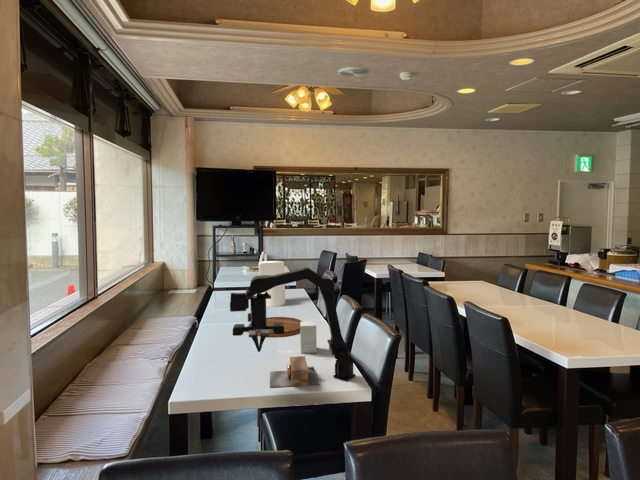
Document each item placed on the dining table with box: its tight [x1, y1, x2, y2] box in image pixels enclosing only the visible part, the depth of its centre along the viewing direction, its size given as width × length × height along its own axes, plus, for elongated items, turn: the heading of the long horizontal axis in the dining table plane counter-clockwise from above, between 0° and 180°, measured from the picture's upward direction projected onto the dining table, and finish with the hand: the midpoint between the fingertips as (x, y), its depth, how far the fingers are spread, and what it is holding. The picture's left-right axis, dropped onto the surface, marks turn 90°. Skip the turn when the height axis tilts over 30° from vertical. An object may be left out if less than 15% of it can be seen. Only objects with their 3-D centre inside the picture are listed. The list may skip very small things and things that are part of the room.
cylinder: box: [258, 260, 286, 308], centre depth 281 cm, size 17×17×28 cm
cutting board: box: [247, 316, 304, 338], centre depth 227 cm, size 32×32×2 cm
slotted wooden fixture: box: [269, 355, 320, 389], centre depth 161 cm, size 18×14×6 cm
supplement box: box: [299, 321, 318, 354], centre depth 192 cm, size 7×7×13 cm
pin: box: [286, 364, 315, 378], centre depth 161 cm, size 10×5×5 cm, turn 97°
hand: (259, 351), depth 157 cm, fingers closed
